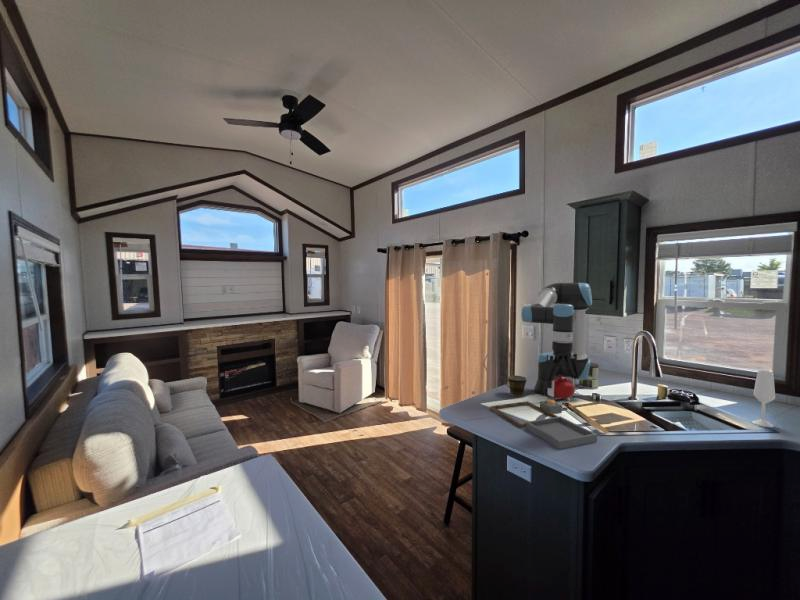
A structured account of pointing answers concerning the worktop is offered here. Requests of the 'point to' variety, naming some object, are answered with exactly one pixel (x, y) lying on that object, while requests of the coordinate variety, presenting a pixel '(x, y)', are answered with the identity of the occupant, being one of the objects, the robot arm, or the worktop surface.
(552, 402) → the button
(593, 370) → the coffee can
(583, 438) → the tray
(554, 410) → the button housing
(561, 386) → the pomegranate
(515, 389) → the ceramic cup
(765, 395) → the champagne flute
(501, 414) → the wooden flat square frame
